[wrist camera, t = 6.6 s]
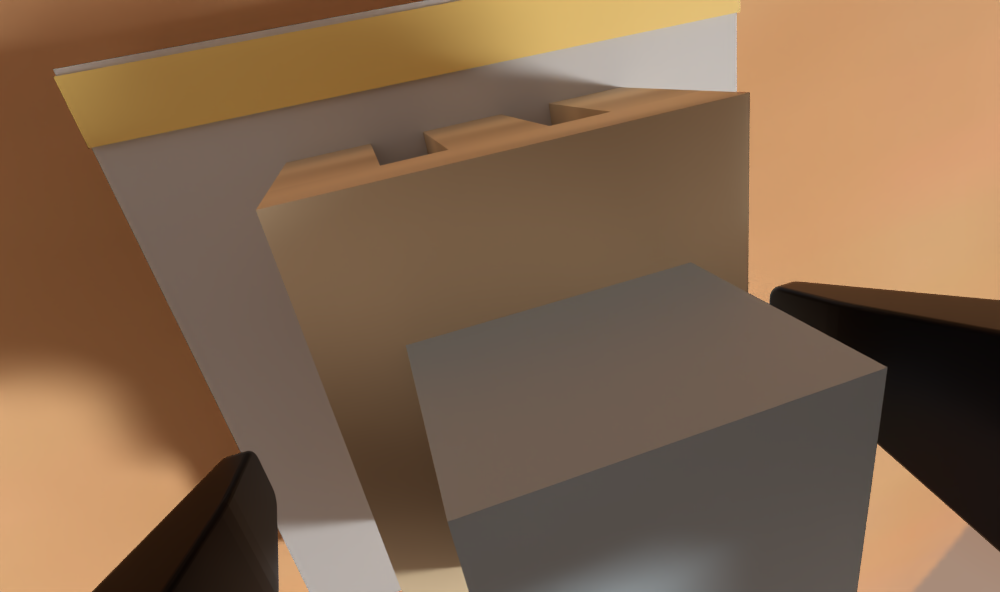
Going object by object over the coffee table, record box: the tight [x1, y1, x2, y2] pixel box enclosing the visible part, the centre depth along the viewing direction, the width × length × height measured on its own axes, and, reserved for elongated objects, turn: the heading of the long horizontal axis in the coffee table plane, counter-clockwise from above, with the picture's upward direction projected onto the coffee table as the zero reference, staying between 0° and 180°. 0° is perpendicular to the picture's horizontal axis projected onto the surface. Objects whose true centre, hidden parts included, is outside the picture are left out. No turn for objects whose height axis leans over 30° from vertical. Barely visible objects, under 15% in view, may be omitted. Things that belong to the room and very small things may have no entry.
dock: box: [53, 0, 740, 592], centre depth 12 cm, size 11×12×3 cm
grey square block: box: [406, 262, 887, 592], centre depth 7 cm, size 4×4×3 cm
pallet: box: [256, 87, 750, 592], centre depth 9 cm, size 8×6×4 cm
